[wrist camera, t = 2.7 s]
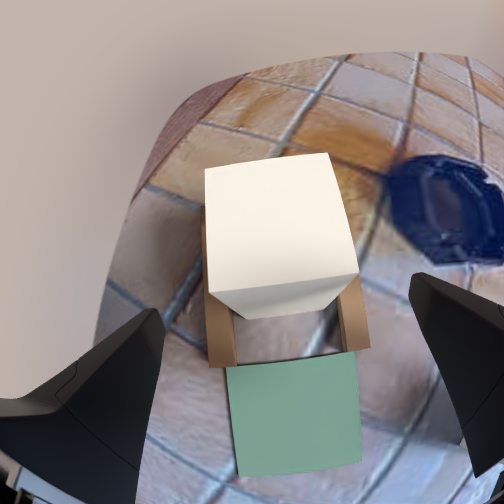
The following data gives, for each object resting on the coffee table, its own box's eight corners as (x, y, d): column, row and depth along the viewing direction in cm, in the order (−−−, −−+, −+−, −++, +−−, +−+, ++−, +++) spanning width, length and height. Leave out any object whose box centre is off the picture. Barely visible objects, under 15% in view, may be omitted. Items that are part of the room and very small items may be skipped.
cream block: (323, 309, 19) (359, 272, 9) (246, 319, 19) (208, 292, 10) (311, 238, 21) (327, 152, 11) (240, 247, 21) (204, 169, 12)
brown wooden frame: (364, 347, 17) (370, 347, 16) (215, 366, 18) (209, 368, 17) (334, 197, 21) (337, 187, 20) (206, 215, 22) (200, 206, 21)
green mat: (360, 460, 14) (361, 461, 14) (239, 475, 15) (238, 476, 15) (353, 350, 17) (354, 350, 17) (226, 366, 18) (225, 367, 18)
